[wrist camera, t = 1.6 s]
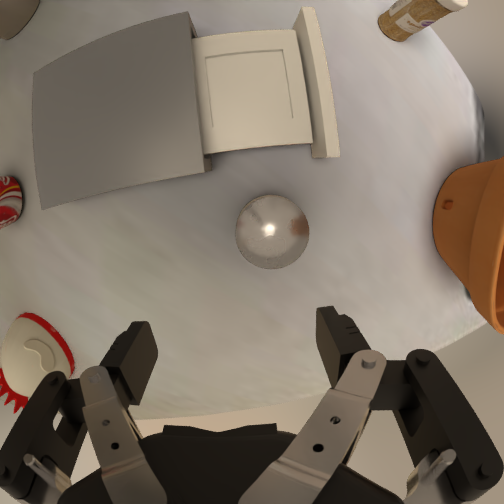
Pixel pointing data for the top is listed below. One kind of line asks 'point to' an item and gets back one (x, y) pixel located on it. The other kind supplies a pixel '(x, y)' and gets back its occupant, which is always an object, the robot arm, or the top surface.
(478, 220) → the flower pot
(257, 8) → the top surface
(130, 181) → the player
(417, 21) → the sprinkles bottle
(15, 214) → the soda can
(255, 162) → the top surface
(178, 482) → the robot arm
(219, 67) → the tray
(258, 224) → the disc
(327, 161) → the top surface
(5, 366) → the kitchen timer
